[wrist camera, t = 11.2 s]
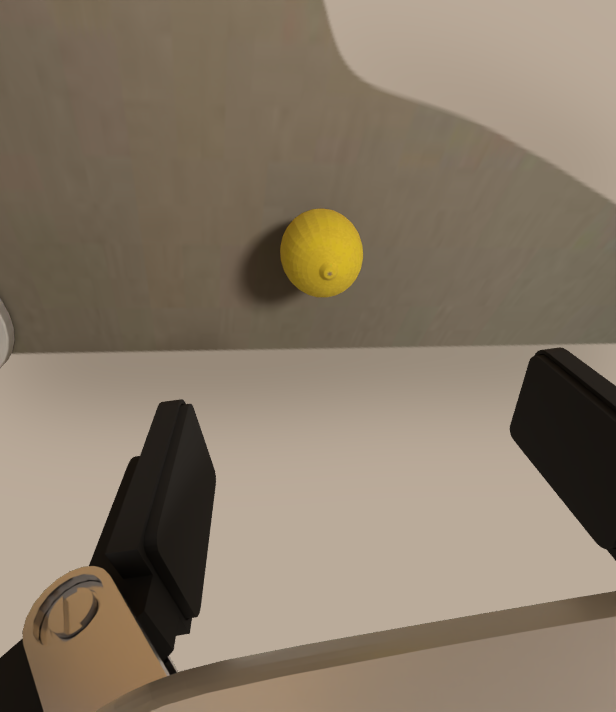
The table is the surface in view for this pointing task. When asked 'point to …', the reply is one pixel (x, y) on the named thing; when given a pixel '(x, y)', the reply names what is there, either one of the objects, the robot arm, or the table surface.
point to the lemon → (321, 252)
